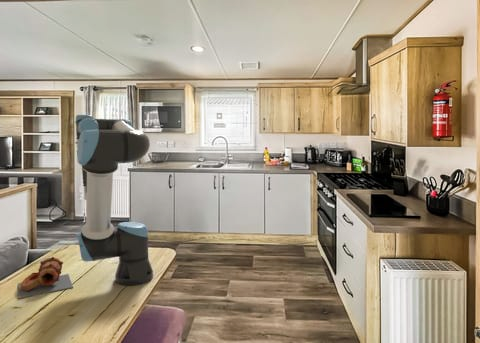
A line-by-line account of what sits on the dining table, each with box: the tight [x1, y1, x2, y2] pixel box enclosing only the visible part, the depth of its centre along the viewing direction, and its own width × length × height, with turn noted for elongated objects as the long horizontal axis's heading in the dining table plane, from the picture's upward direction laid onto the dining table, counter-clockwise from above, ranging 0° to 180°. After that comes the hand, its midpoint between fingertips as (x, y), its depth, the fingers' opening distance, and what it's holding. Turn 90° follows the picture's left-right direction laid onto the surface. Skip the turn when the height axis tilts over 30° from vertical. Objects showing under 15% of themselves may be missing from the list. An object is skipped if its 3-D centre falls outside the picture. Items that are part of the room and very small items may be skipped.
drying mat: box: [17, 273, 74, 300], centre depth 138 cm, size 15×18×1 cm
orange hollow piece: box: [20, 256, 64, 291], centre depth 140 cm, size 15×8×15 cm
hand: (87, 199), depth 164 cm, fingers closed
